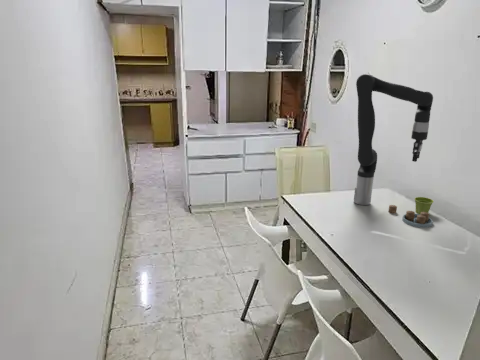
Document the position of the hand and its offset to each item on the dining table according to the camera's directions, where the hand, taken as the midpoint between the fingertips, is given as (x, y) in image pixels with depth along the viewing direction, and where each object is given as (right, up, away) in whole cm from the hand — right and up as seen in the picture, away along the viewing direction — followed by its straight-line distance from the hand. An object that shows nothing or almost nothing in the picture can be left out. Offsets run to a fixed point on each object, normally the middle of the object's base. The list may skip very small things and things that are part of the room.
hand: (415, 159), depth 189 cm
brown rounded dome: (-6, -32, -6) cm, 34 cm away
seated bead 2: (0, -33, -8) cm, 34 cm away
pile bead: (-11, -30, +5) cm, 32 cm away
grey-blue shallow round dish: (-3, -34, -8) cm, 35 cm away
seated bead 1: (-4, -34, -11) cm, 36 cm away
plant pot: (+5, -31, +4) cm, 31 cm away
